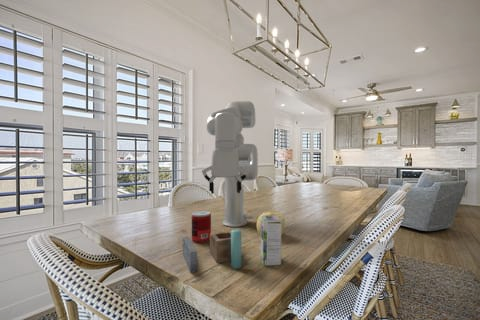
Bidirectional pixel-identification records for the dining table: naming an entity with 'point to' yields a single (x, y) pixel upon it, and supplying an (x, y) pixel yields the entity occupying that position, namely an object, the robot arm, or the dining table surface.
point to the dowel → (236, 248)
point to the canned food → (201, 226)
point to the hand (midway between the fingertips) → (225, 192)
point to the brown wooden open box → (220, 246)
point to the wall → (190, 254)
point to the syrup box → (270, 240)
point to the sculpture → (270, 214)
